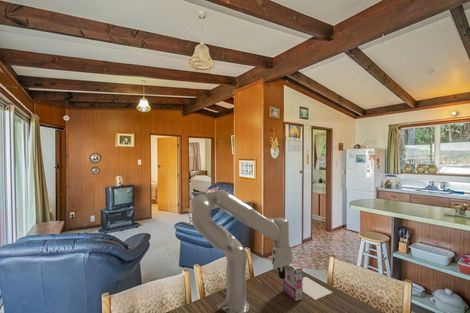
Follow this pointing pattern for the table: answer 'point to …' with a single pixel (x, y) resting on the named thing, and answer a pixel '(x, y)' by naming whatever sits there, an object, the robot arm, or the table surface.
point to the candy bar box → (293, 282)
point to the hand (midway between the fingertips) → (281, 277)
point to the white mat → (313, 289)
